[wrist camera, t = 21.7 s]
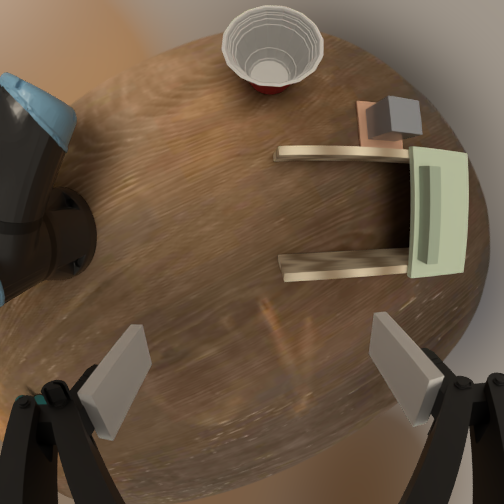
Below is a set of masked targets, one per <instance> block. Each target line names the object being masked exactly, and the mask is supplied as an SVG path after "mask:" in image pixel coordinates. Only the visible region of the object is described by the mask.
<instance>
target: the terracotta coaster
mask: <svg viewBox="0 0 504 504" xmlns="http://www.w3.org/2000/svg"><path fill="white" fill-rule="evenodd" d="M374 104H375V103H374V102H364V101H356V112H357V122H358V134H359V147H377V148H392V149H403V143H402V140H399V141H384V140H371V139H368V133H367V121H366V109H367V108H369V107H371V106H372V105H374Z"/></svg>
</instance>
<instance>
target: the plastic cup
mask: <svg viewBox="0 0 504 504" xmlns="http://www.w3.org/2000/svg"><path fill="white" fill-rule="evenodd" d="M222 52H223V55H224V57H225V60H226V62H227V65H228V66H229V67H230V68H231V69H232V70H233V71H234V72H235V73H236V74H237V75H238V76H239V77H240V78H243V79H245V80H248V81H249V83H250V84H251V85H252V86H253V87H254V88H255V90H257V91H259V92H261V93H263V94H272V95H273V94H277V93H280V92H282V91H283V90H285V89H286V88H287V87H289V86H290V85H292V84H293V83H296V82H300V81H301V80H303V79H304V78H305V77H307V76H308V75H310V74H311V73H312V72H314V71H315V70H316V68H317V66H318V64H319V63H320V61H321V59H322V57H323V38H322V36H321V34H320V32H319V30H318V28H317V26H316V24H314V23H313V22H312V21H311V20H310V19H309V18H308V17H306V16H305V15H304V14H303V13H301V12H298V11H296V10H293V9H290V8H288V7H285V6H270V5H265V6H261V7H257V8H253V9H249V10H247V11H245V12H244V13H242V14H241V15H239V16H238V17H236V18H235V19H233V20H232V22H231V23H230V25H229V26H228V28H227V29H226V31H225V32H224V34H223V42H222Z"/></svg>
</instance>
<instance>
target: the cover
mask: <svg viewBox="0 0 504 504" xmlns="http://www.w3.org/2000/svg"><path fill="white" fill-rule="evenodd" d="M409 159H410V184H411V219H410V245H409V260H408V272H407V276H408V277H410V278H418V277H427V276H436V275H445V274H453V273H462V272H463V271H464V263H465V254H466V243H467V229H468V201H469V186H468V158H467V153H461V152H454V151H447V150H440V149H432V148H423V147H414V146H412V147H409Z"/></svg>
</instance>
